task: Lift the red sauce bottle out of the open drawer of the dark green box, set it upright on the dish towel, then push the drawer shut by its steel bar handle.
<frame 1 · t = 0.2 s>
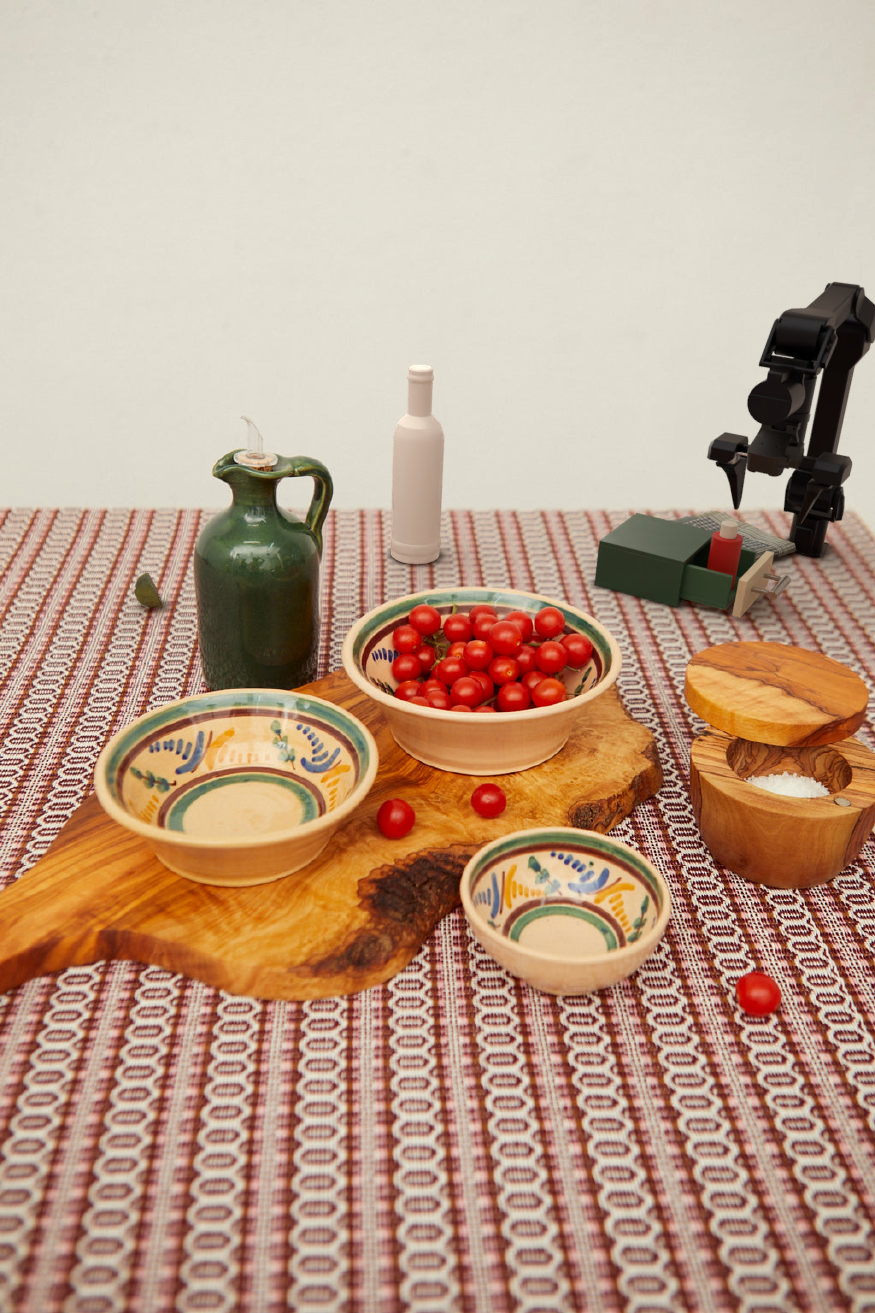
hand: (767, 516, 156), 14 cm above the table, tool pointing down, fingers open, 9 cm apart
dish towel: (719, 546, 184), on the table, touching arm
drawer: (729, 577, 163), point 4 cm above the table, slide at 8.1 cm, touching sauce bottle
sauce bottle: (719, 585, 165), point 2 cm above the table, touching drawer
lime: (151, 607, 156), on the table
bottle: (414, 556, 175), on the table
dark green box: (652, 580, 170), on the table
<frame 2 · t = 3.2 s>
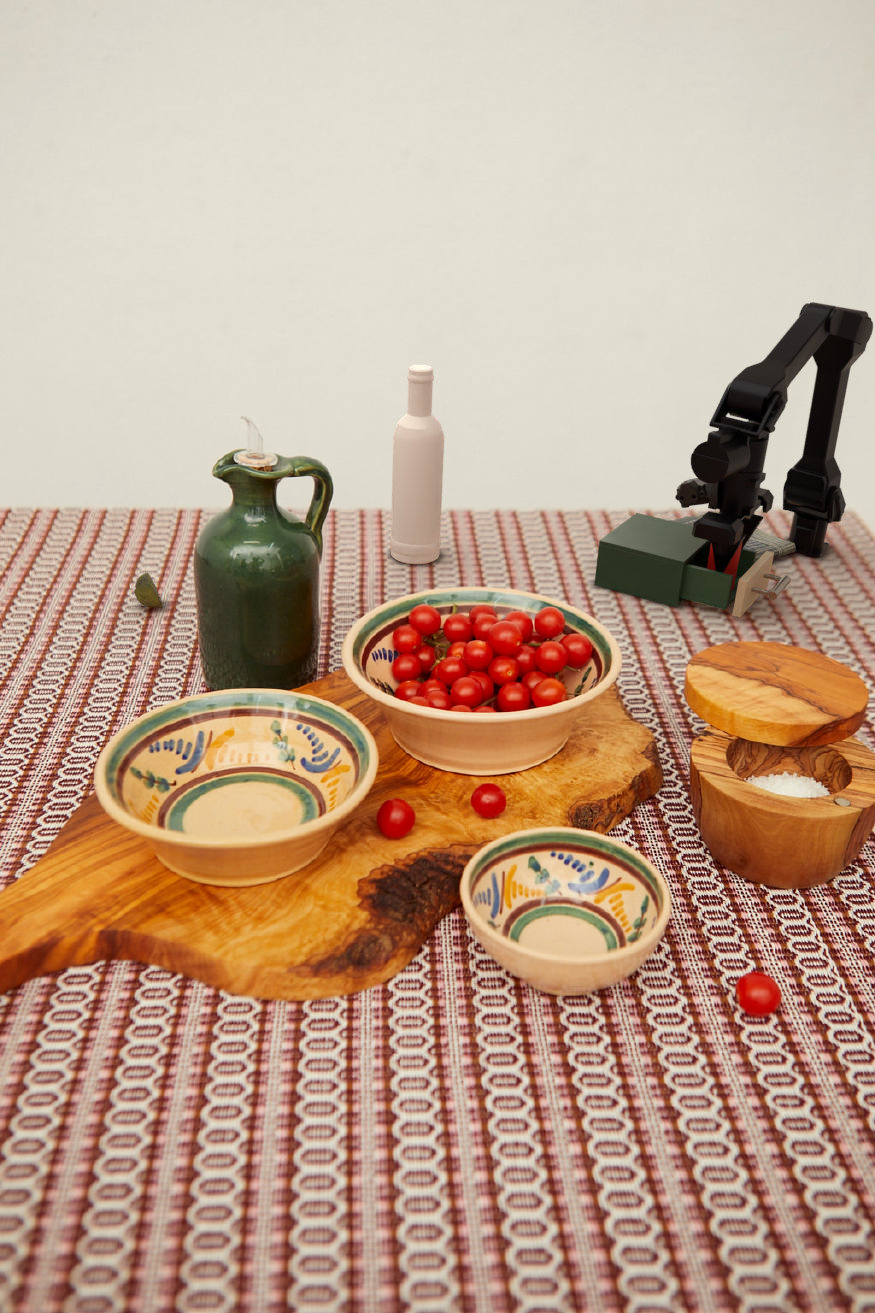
hand: (724, 567, 163), 5 cm above the table, tool pointing down, fingers closed on sauce bottle, 4 cm apart
sauce bottle: (719, 585, 165), point 2 cm above the table, touching drawer, gripper
everything else where it was.
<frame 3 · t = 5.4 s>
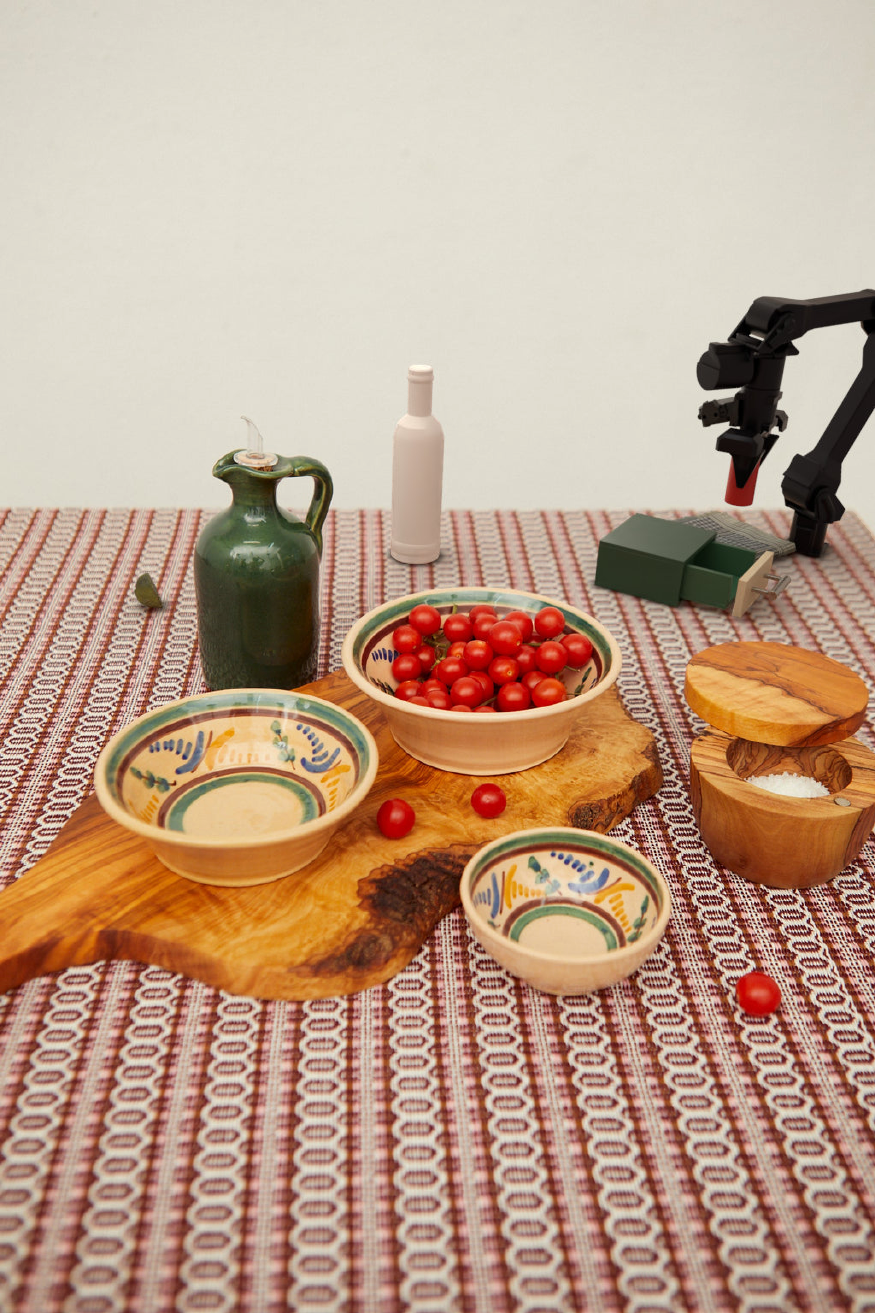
hand: (744, 483, 173), 13 cm above the table, tool pointing down, fingers closed on sauce bottle, 4 cm apart
drawer: (729, 577, 163), point 4 cm above the table, slide at 8.1 cm
sauce bottle: (738, 501, 174), point 10 cm above the table, touching gripper
everything else where it was.
when the fingers open (6 cm above the table, at t = 7.9 s): sauce bottle stays where it is, resting on dish towel.
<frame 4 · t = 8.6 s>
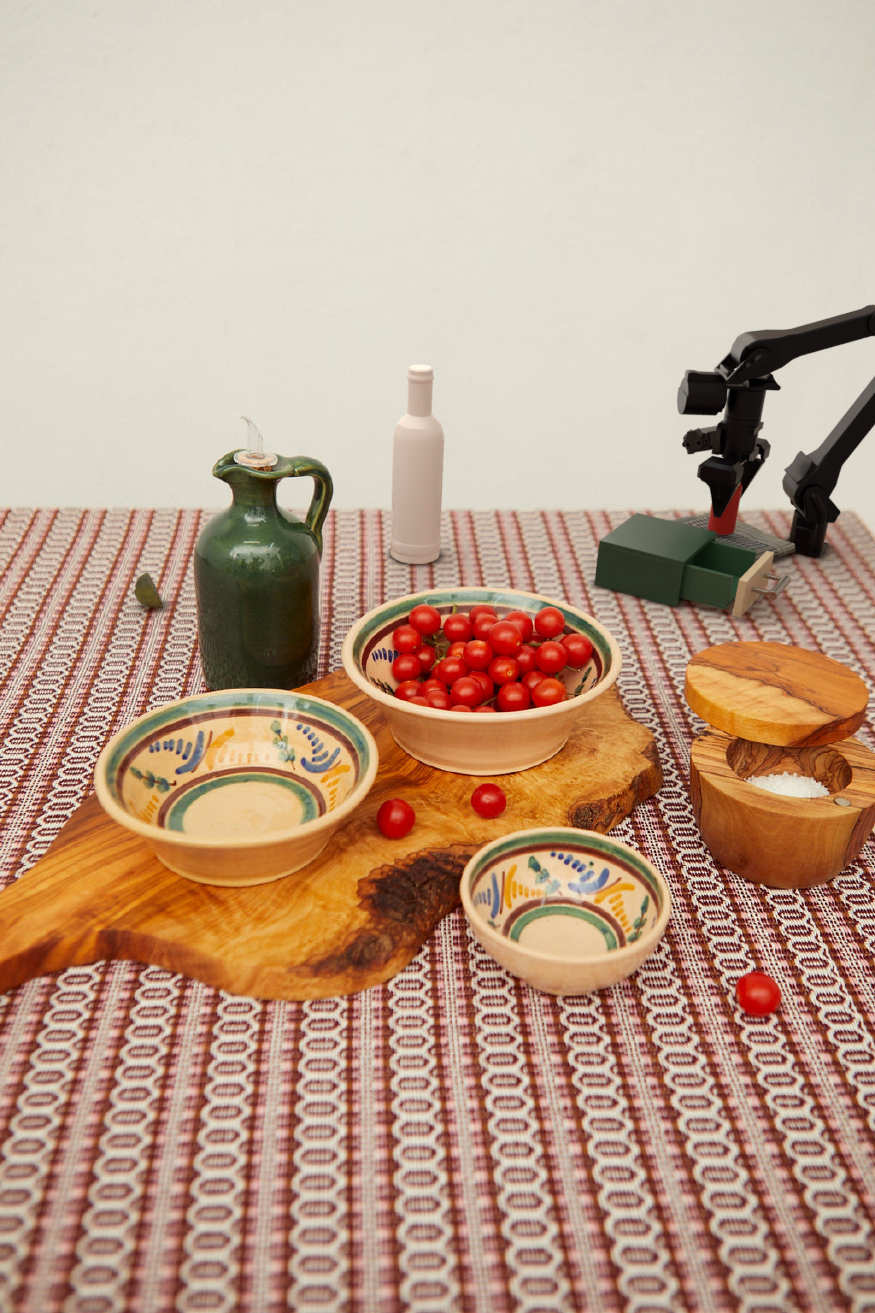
hand: (726, 508, 180), 7 cm above the table, tool pointing down, fingers open, 9 cm apart
dish towel: (719, 546, 184), on the table, touching arm, sauce bottle
sauce bottle: (720, 529, 182), point 3 cm above the table, touching dish towel
everything else where it was.
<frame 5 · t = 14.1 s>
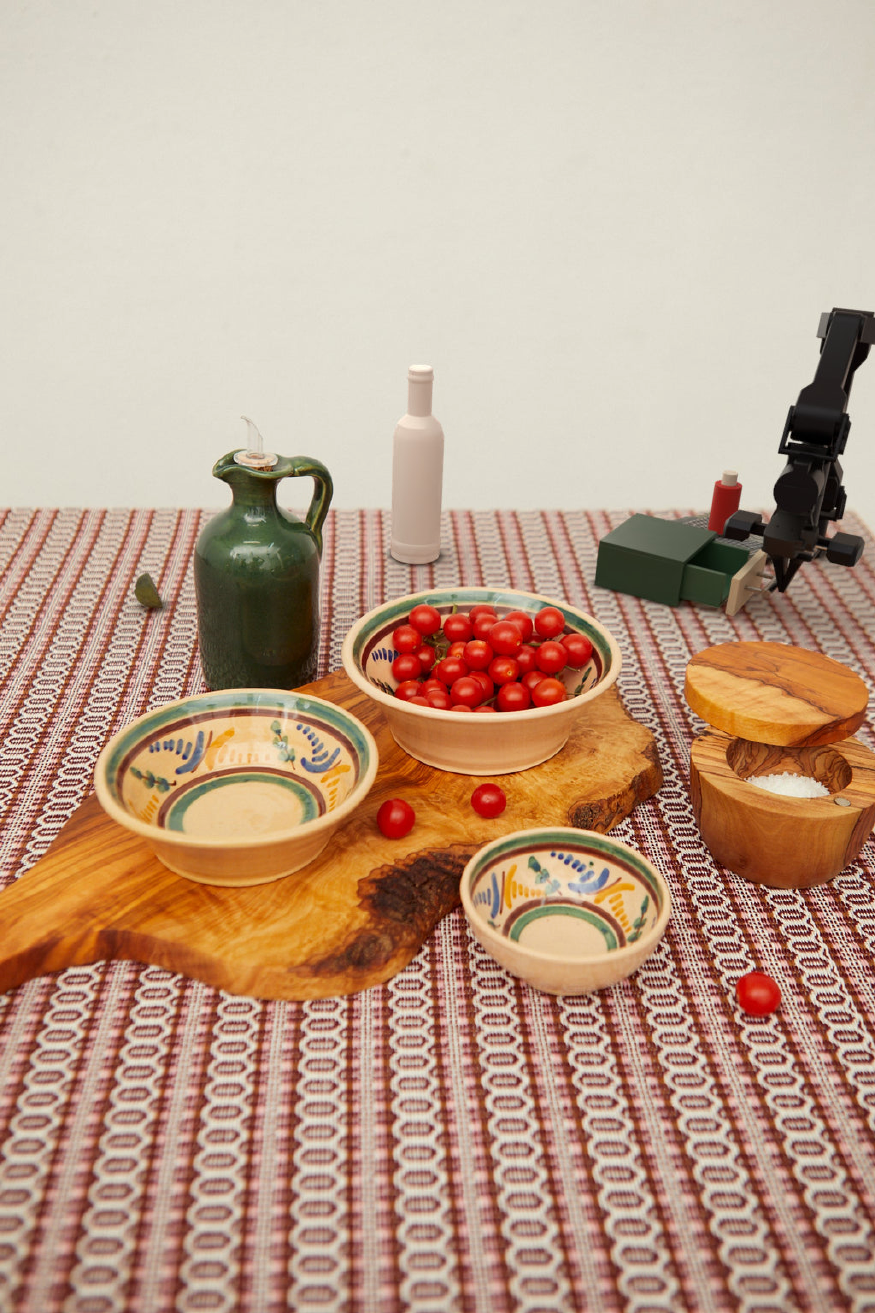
hand: (781, 591, 160), 3 cm above the table, tool pointing down, fingers closed
drawer: (723, 575, 164), point 4 cm above the table, slide at 7.1 cm, touching gripper
everything else where it was.
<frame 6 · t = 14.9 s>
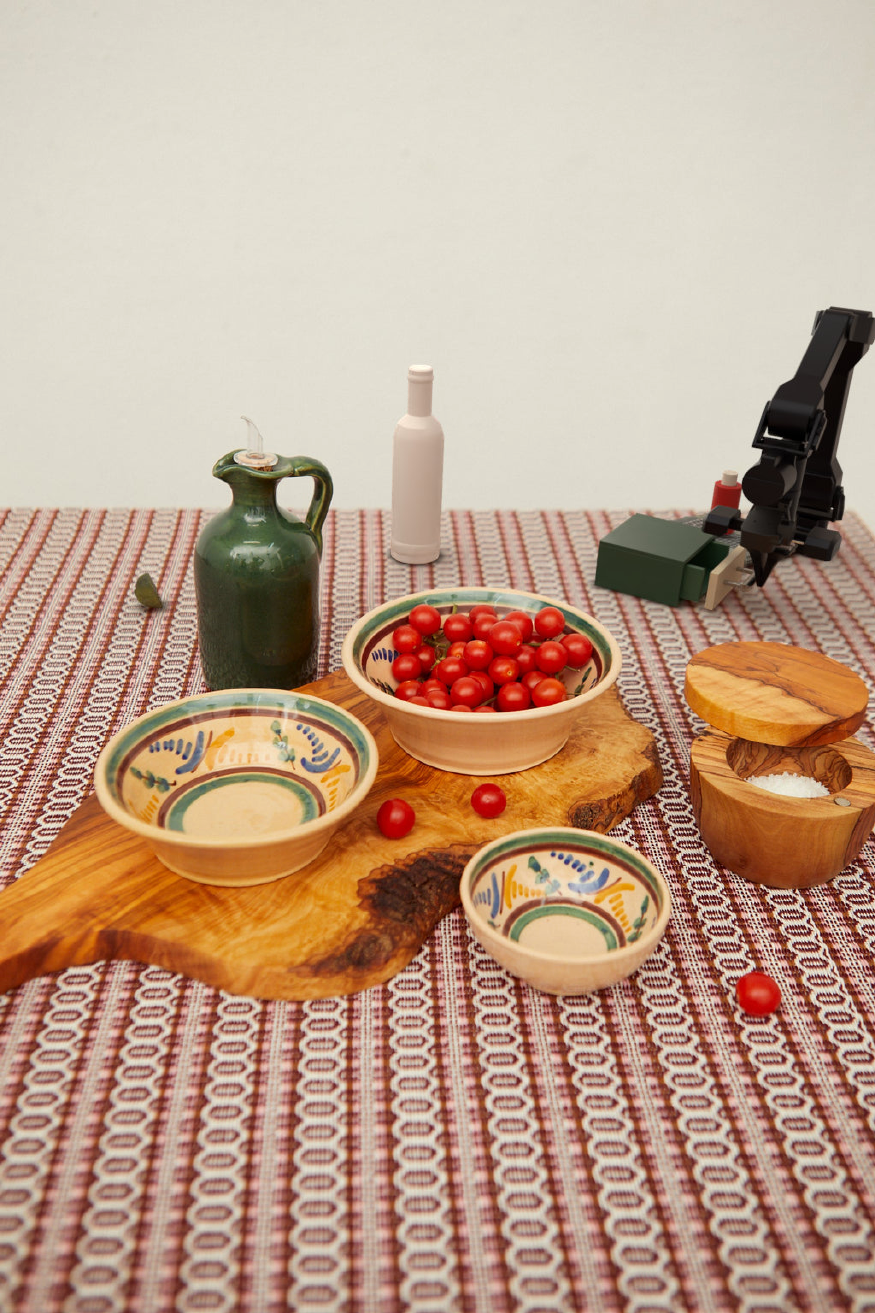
hand: (760, 586, 161), 3 cm above the table, tool pointing down, fingers closed
drawer: (702, 570, 165), point 4 cm above the table, slide at 3.9 cm, touching gripper
everything else where it was.
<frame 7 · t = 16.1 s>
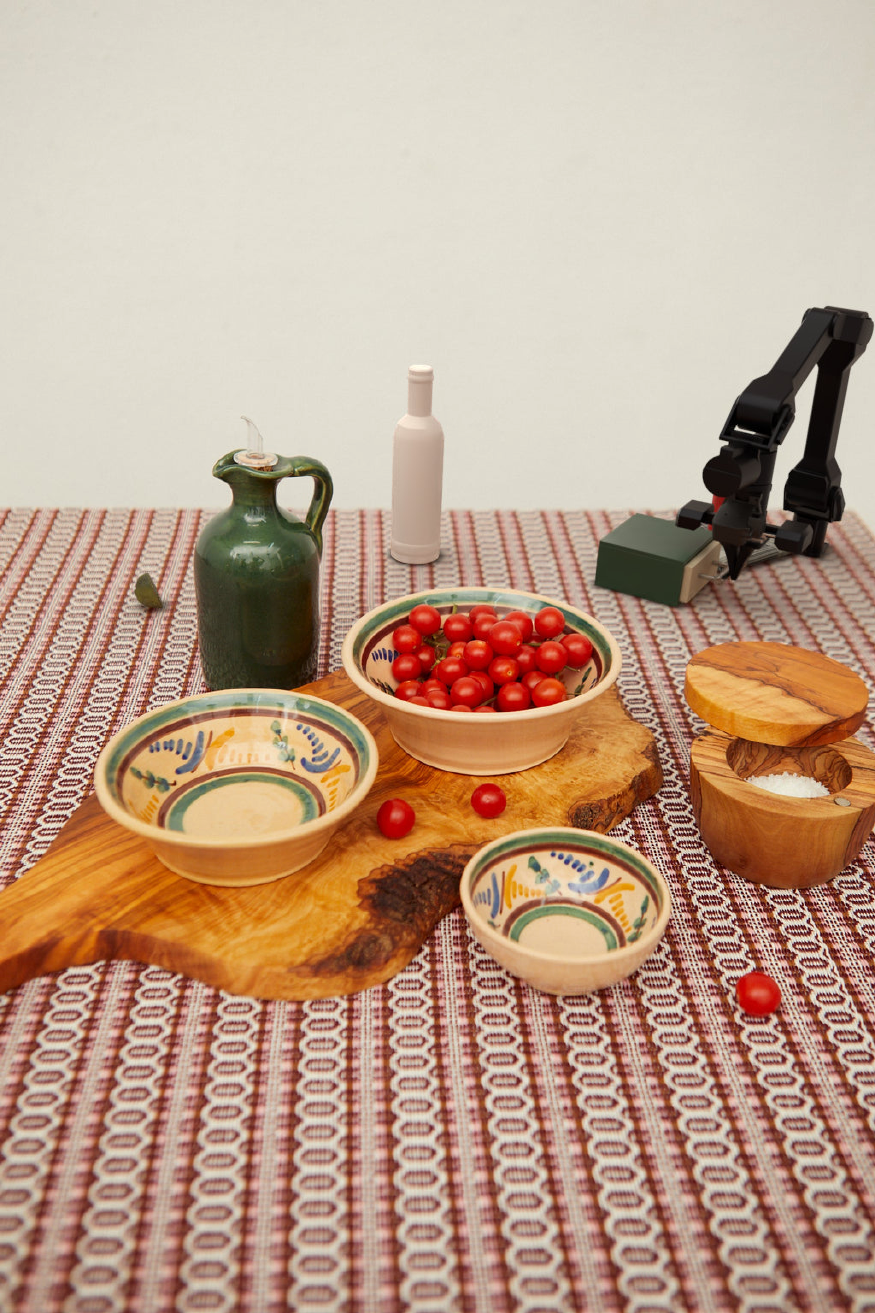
hand: (734, 579, 163), 3 cm above the table, tool pointing down, fingers closed
drawer: (678, 564, 167), point 4 cm above the table, slide at 0.0 cm, touching gripper, dark green box
everything else where it was.
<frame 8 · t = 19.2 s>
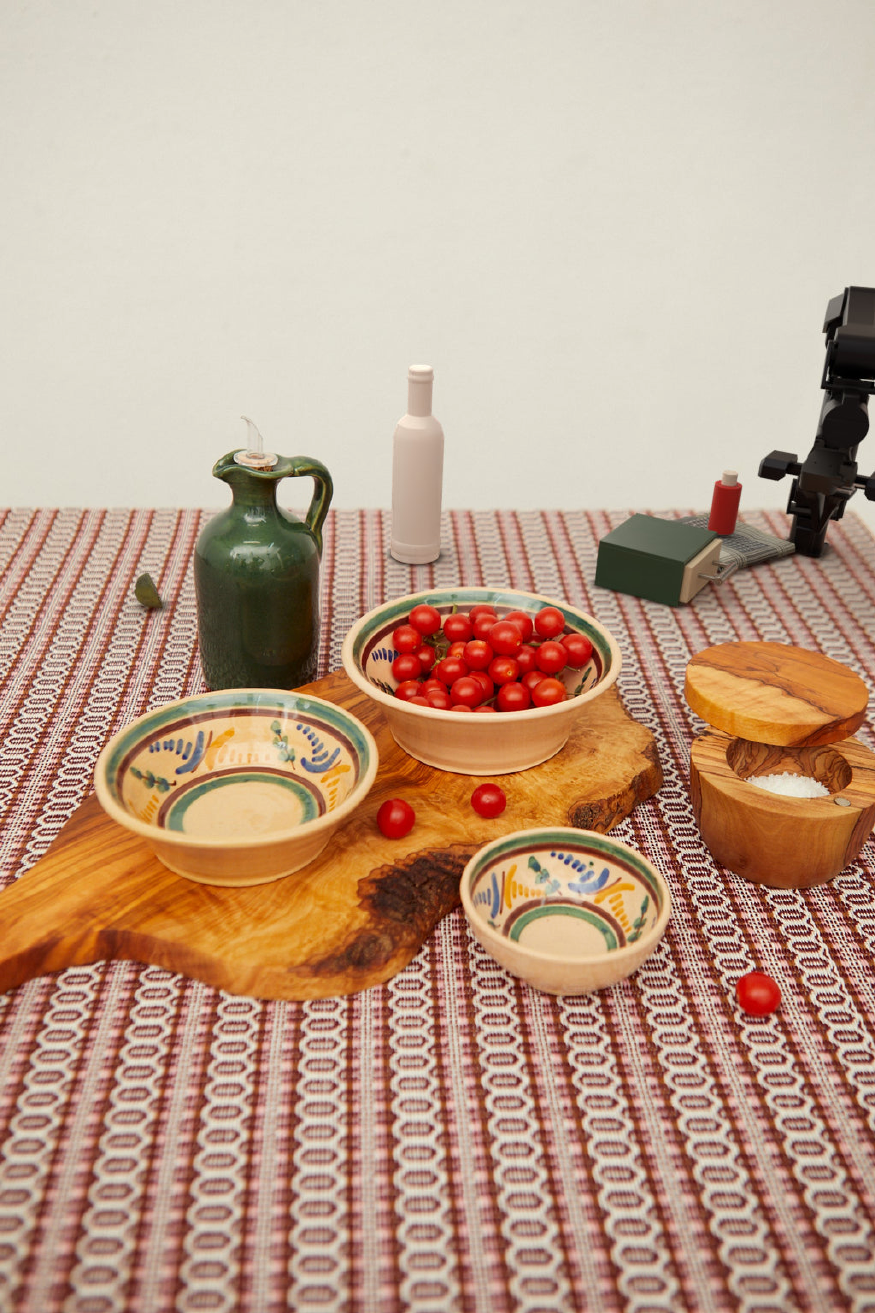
hand: (817, 533, 158), 12 cm above the table, tool pointing down, fingers closed
drawer: (678, 564, 167), point 4 cm above the table, slide at 0.0 cm, touching dark green box
everything else where it was.
at the end: sauce bottle inside the target area on the dish towel (0.2 cm from its centre), point 3.0 cm above the dish towel's base; sauce bottle tilted 0°; drawer slide at 0.0 cm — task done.
